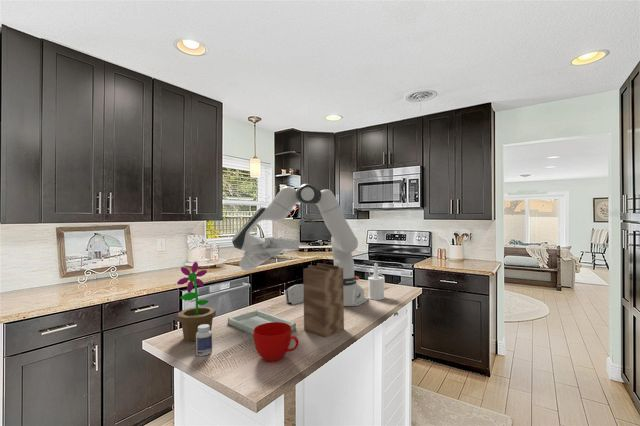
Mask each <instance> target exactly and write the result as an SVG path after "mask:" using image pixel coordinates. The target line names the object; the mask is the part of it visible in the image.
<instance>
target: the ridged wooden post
mask: <svg viewBox="0 0 640 426" xmlns="http://www.w3.org/2000/svg"><path fill="white" fill-rule="evenodd" d="M302 270H303V273H302V274H303V276H302V277H303V279H302V280H303V283H302V284H303V285H304V302H303V330H304V331H306V332H309V333H310V334H311V333H312V334H314V335H317V336H320V337H323V338H327V337H329V336H332V335H334V334H336V333H338V332H340V331H342V330H344V329H345V312H344V308H345V306H344V295H343V268H339V266H334V264H327V263H320V262H317V263H316V265H312V264H308V265H307V268H303V269H302Z"/></svg>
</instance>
